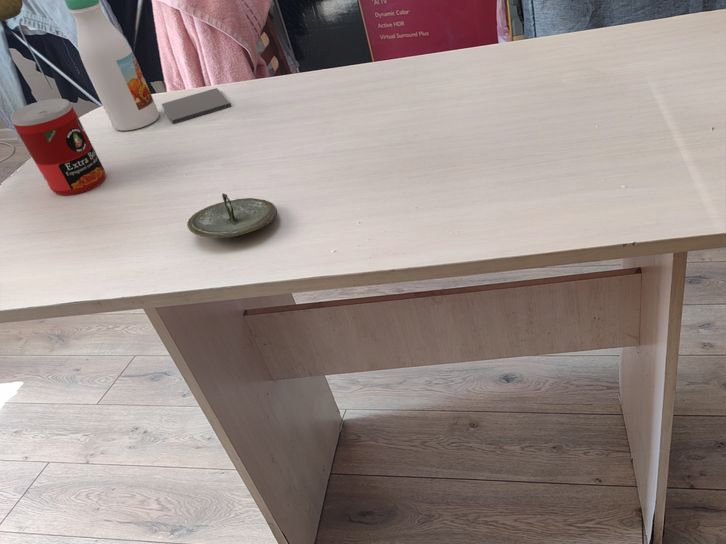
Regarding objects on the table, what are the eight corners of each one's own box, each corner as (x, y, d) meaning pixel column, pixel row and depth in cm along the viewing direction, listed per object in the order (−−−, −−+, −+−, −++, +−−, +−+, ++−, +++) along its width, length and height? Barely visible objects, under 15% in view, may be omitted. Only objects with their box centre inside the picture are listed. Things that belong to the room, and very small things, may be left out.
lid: (187, 262, 80) (169, 232, 76) (206, 203, 86) (189, 172, 82) (274, 257, 80) (260, 227, 75) (287, 198, 85) (275, 167, 81)
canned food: (81, 198, 94) (39, 122, 87) (39, 194, 97) (-5, 120, 90) (119, 172, 99) (82, 98, 92) (78, 169, 102) (40, 97, 95)
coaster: (173, 123, 112) (171, 120, 112) (162, 107, 119) (161, 103, 119) (231, 106, 115) (230, 102, 115) (218, 91, 122) (216, 87, 122)
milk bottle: (131, 134, 111) (70, 2, 97) (104, 128, 114) (41, 0, 101) (169, 115, 115) (115, -13, 102) (142, 110, 119) (86, -15, 106)
